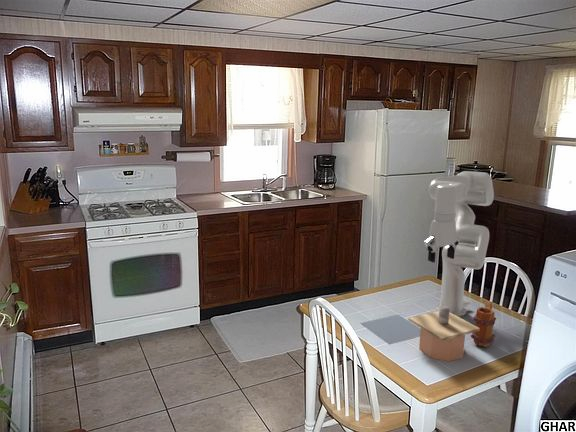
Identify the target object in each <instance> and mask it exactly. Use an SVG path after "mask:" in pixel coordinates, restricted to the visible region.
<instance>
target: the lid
mask: <svg viewBox="0 0 576 432" xmlns="http://www.w3.org/2000/svg"><path fill="white" fill-rule="evenodd" d="M449 311H450V308H449V307H446V306H441V307H440V308H439V311H432V312H428V313H427V312H426V313H423V314H418V315H415V316H410V317H408V321H409V322H411V323H412V324H414V325H416V326H417V327H419V328H420V329H421V328H422V329H423V330H425V331H427V332H428V333H430V334H432V335H433V336H435V337H436V338H438V339H440V340H441V341H444V340H447V339H451V338H455V337H458V336H462V335H465V336H466V335H469V334H473V332H477V331H479V329H480V328H478V327H476V326H475V324H472V323H470V322H469V321H467V320H465V319H463V318H462V317H458V316H456V315H454V314H452V313H450V312H449Z"/></svg>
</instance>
